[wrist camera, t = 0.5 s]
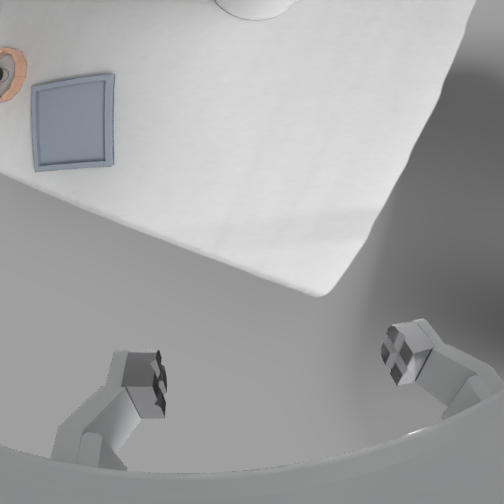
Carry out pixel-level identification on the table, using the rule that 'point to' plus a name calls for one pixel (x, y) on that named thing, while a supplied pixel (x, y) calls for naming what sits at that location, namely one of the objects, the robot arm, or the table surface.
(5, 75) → the light bulb
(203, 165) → the table surface
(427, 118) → the table surface
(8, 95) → the ring
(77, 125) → the tray
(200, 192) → the table surface
